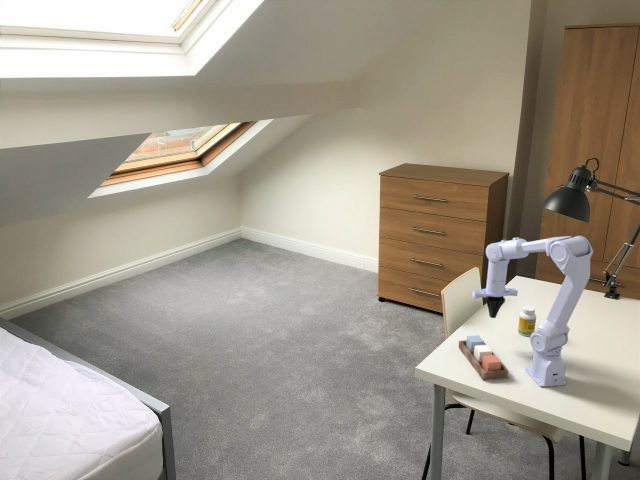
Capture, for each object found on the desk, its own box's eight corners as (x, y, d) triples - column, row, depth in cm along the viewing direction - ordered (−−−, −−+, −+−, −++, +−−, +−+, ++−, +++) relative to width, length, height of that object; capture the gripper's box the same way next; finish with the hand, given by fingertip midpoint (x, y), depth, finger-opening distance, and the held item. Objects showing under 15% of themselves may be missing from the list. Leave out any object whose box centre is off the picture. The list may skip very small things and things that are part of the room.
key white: (491, 361, 164) (492, 351, 163) (478, 362, 164) (479, 352, 163) (485, 354, 168) (486, 344, 167) (473, 355, 168) (474, 345, 167)
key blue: (482, 351, 170) (483, 341, 169) (470, 351, 170) (471, 342, 169) (477, 344, 174) (478, 335, 173) (466, 345, 174) (466, 336, 173)
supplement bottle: (524, 328, 188) (527, 303, 185) (537, 334, 184) (540, 308, 181) (514, 332, 185) (517, 307, 182) (527, 338, 181) (530, 312, 178)
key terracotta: (500, 372, 159) (501, 361, 158) (487, 373, 158) (488, 362, 157) (494, 364, 162) (495, 354, 161) (481, 365, 162) (482, 355, 161)
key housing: (508, 378, 158) (508, 371, 157) (483, 380, 157) (483, 373, 156) (480, 345, 176) (481, 339, 175) (458, 347, 175) (459, 340, 174)
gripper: (512, 272, 174) (507, 309, 178) (469, 274, 172) (466, 312, 176) (522, 280, 167) (517, 319, 172) (478, 283, 166) (475, 322, 170)
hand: (492, 316), depth 174 cm, fingers closed
